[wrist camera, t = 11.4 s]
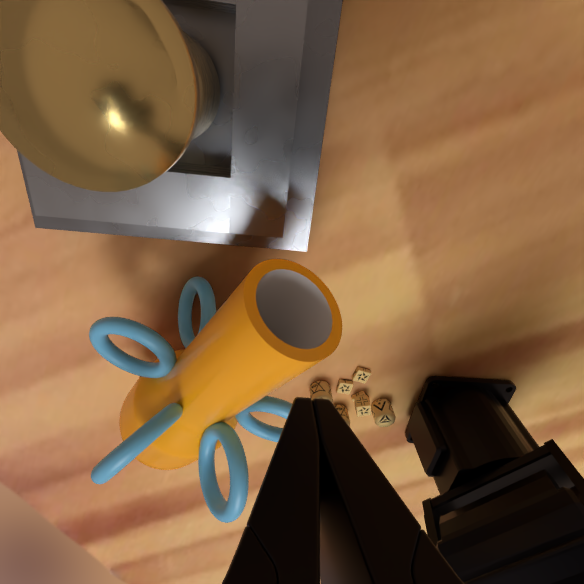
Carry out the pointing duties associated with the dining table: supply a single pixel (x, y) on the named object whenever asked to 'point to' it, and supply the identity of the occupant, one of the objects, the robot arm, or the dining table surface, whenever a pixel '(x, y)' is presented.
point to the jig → (228, 137)
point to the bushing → (102, 89)
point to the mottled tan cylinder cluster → (356, 399)
